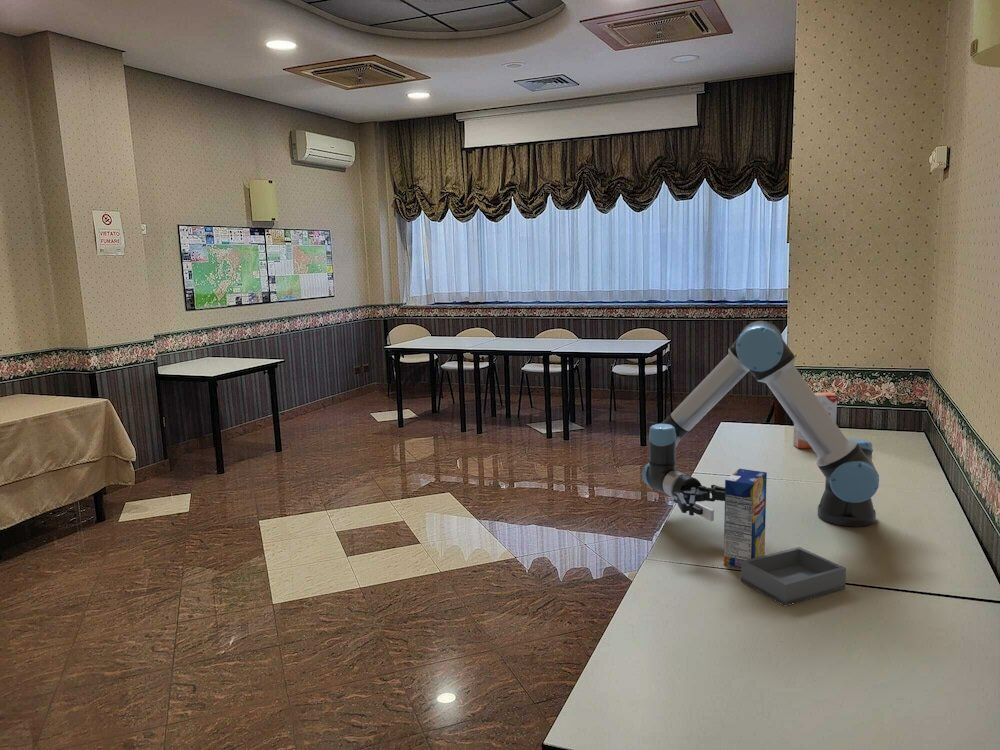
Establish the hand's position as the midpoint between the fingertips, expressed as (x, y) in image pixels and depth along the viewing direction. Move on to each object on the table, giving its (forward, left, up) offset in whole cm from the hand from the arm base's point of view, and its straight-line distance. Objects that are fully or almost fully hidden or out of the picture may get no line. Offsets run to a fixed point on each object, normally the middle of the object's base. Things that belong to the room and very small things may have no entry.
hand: (734, 511), depth 189 cm
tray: (-1, +19, -12) cm, 23 cm away
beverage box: (-1, +3, -12) cm, 13 cm away
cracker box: (-95, -65, -12) cm, 115 cm away
